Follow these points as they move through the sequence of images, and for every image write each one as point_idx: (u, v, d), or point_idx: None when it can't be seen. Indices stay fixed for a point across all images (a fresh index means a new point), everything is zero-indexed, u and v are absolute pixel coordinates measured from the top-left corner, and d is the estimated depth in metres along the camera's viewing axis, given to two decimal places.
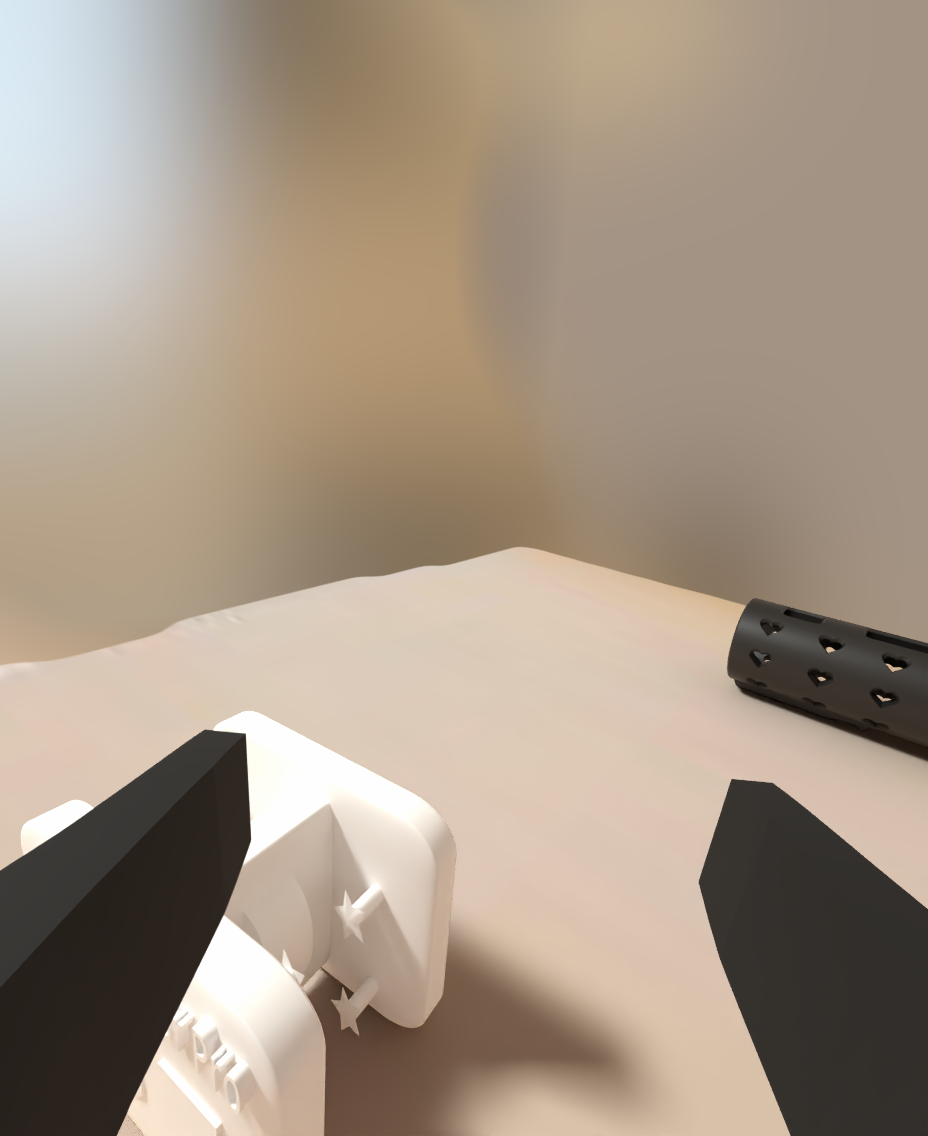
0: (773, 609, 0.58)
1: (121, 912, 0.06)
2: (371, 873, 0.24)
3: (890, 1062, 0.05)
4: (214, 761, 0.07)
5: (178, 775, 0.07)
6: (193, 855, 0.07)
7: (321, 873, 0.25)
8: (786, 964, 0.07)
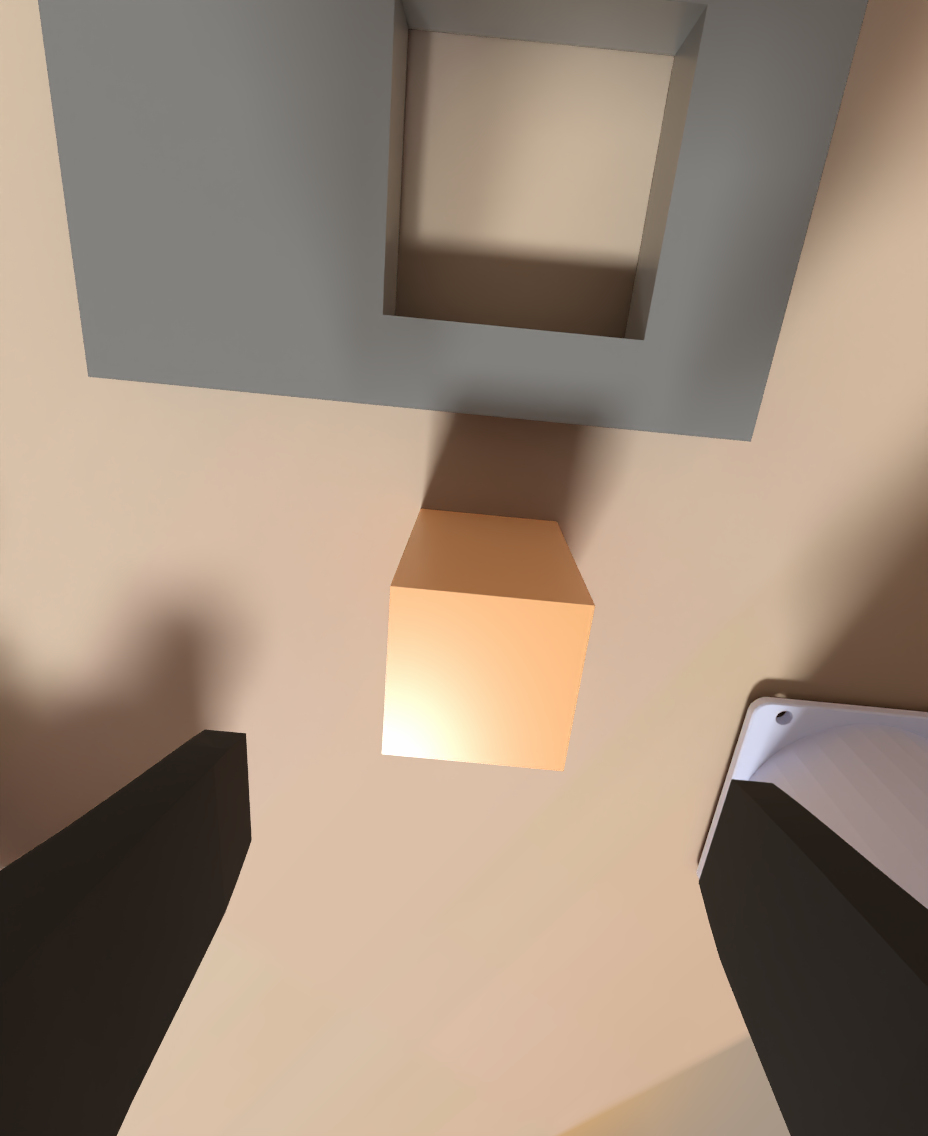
0: None
1: (121, 912, 0.06)
2: None
3: (890, 1062, 0.05)
4: (214, 761, 0.07)
5: (178, 775, 0.07)
6: (193, 855, 0.07)
7: None
8: (787, 964, 0.07)
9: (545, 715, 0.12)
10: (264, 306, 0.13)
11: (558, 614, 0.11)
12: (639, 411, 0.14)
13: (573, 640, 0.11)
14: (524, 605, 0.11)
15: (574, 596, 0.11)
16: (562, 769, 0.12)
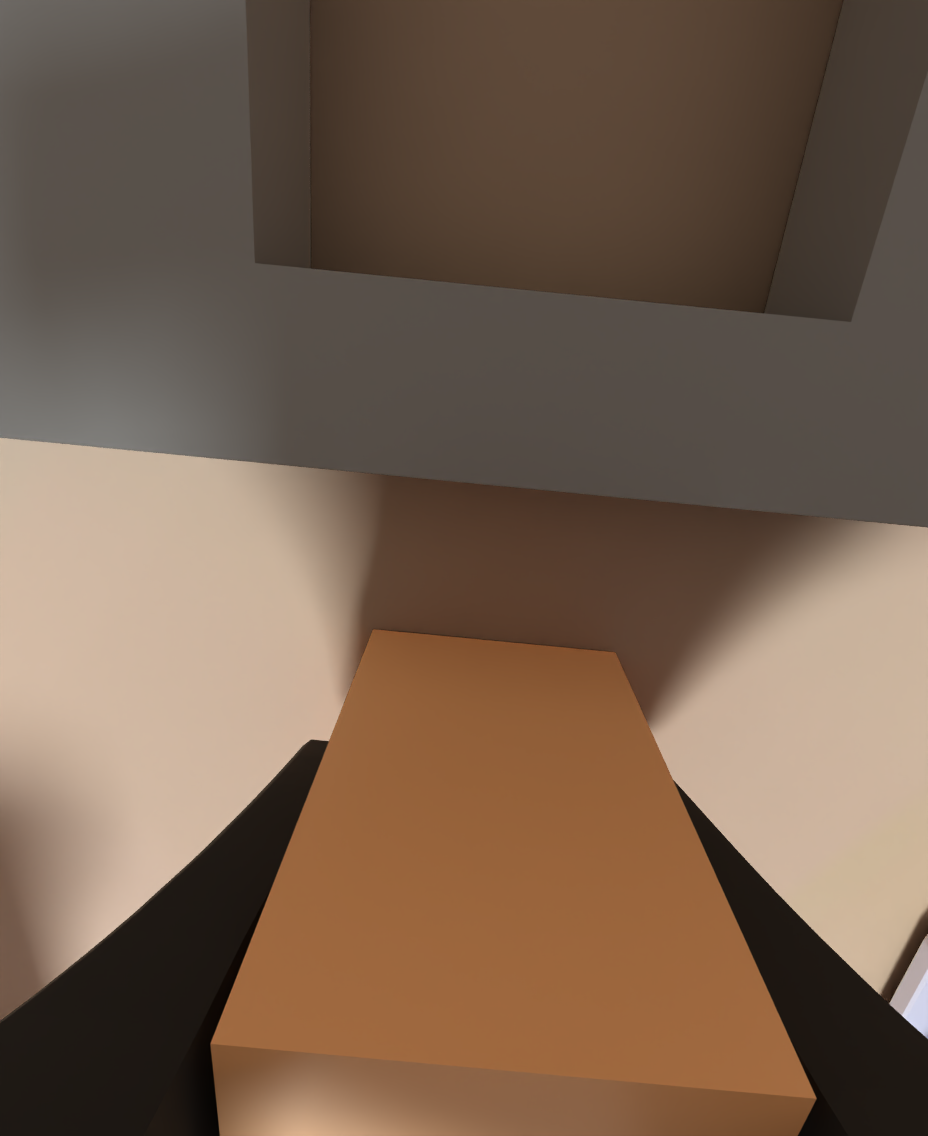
0: None
1: None
2: None
3: None
4: None
5: (305, 787, 0.07)
6: None
7: None
8: None
9: None
10: None
11: (705, 1113, 0.04)
12: (822, 477, 0.06)
13: None
14: (605, 1093, 0.04)
15: (742, 1035, 0.04)
16: None
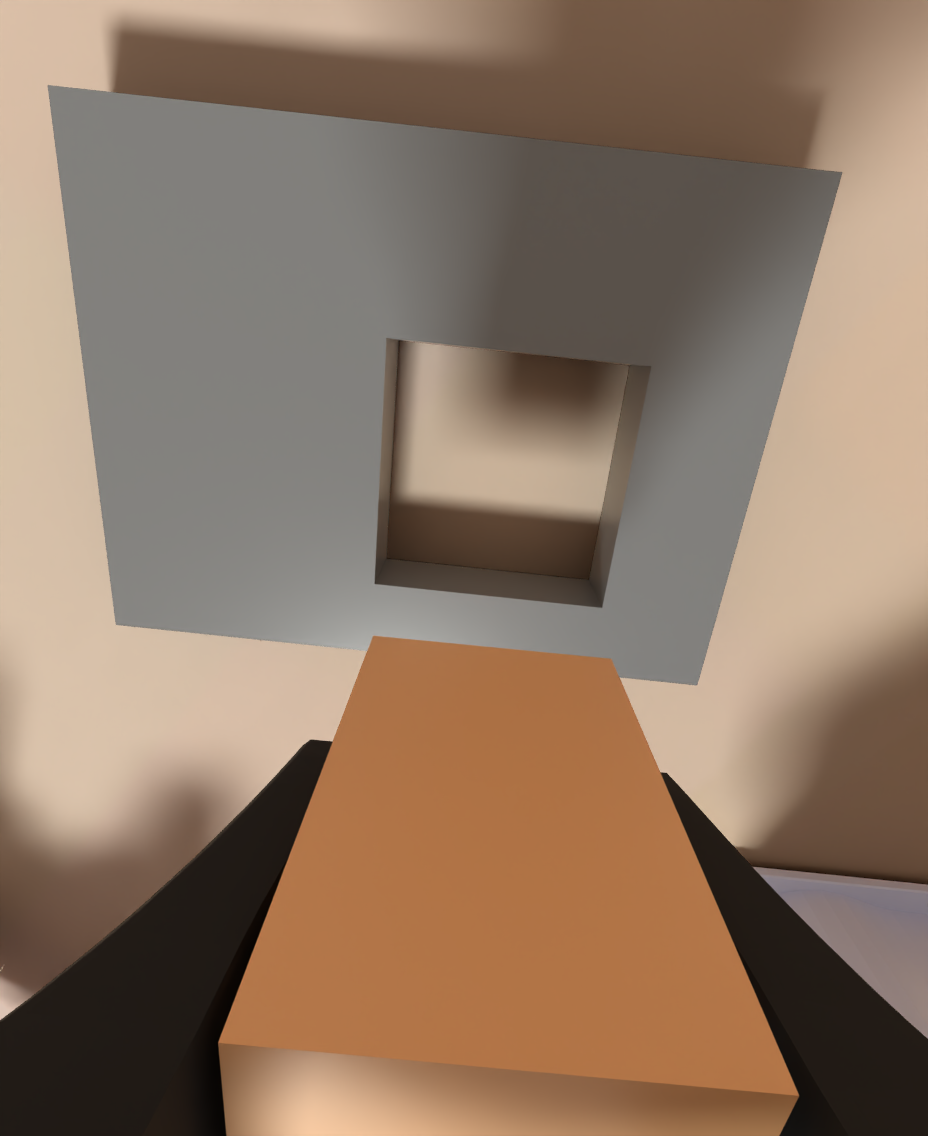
0: None
1: None
2: None
3: None
4: None
5: (304, 787, 0.07)
6: None
7: None
8: None
9: None
10: (270, 575, 0.15)
11: (693, 1110, 0.04)
12: None
13: None
14: (596, 1091, 0.04)
15: (729, 1036, 0.04)
16: None
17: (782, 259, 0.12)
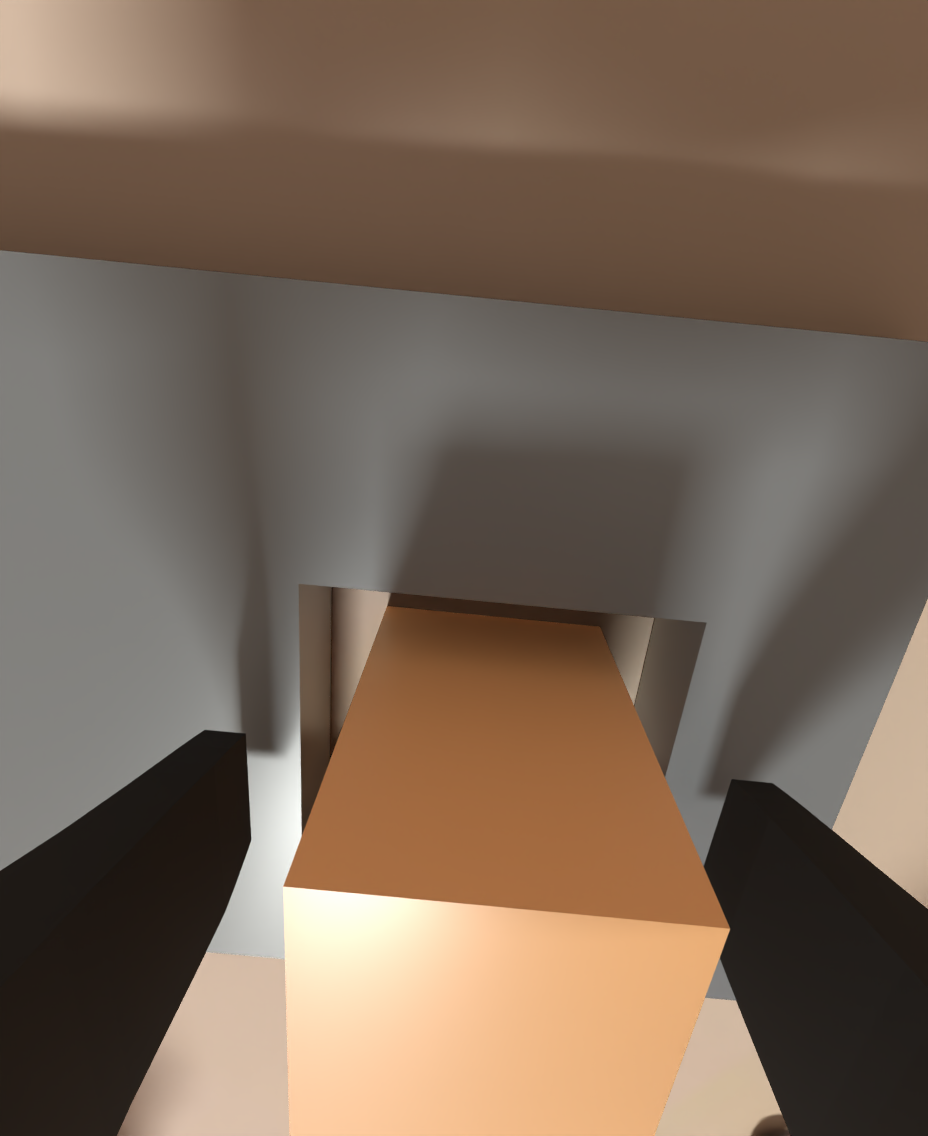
0: None
1: (121, 912, 0.06)
2: None
3: (890, 1062, 0.05)
4: (214, 761, 0.07)
5: (178, 775, 0.07)
6: (193, 855, 0.07)
7: None
8: (787, 964, 0.07)
9: (610, 1097, 0.06)
10: None
11: (648, 942, 0.05)
12: None
13: (678, 986, 0.05)
14: (575, 925, 0.05)
15: (679, 890, 0.05)
16: None
17: (920, 477, 0.08)
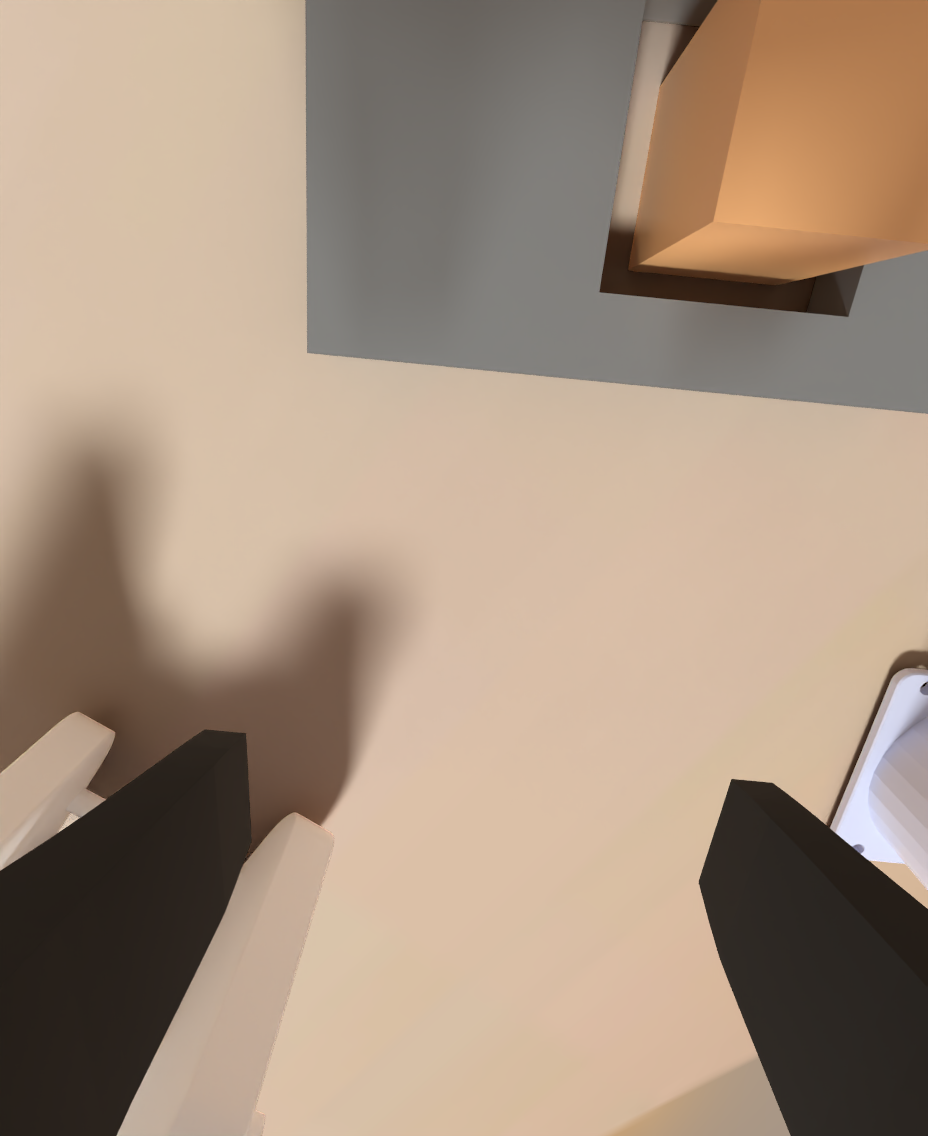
0: None
1: (121, 912, 0.06)
2: None
3: (890, 1062, 0.05)
4: (214, 761, 0.07)
5: (178, 775, 0.07)
6: (193, 855, 0.07)
7: None
8: (787, 964, 0.07)
9: None
10: (485, 284, 0.14)
11: None
12: (835, 385, 0.14)
13: None
14: None
15: None
16: None
17: None
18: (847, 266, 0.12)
